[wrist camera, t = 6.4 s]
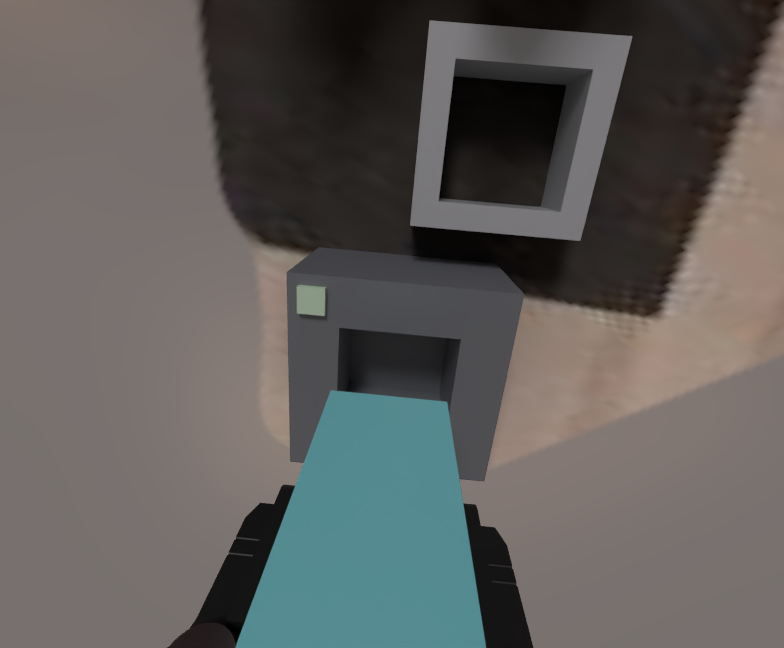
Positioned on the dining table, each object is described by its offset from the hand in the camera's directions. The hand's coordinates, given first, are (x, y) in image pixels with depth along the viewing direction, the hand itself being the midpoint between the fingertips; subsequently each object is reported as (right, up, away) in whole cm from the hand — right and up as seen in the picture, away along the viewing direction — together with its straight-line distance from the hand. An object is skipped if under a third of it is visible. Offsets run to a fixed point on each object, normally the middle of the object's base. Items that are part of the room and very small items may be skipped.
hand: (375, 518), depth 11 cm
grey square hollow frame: (+6, +15, +9) cm, 18 cm away
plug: (0, +1, +3) cm, 3 cm away
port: (+1, +5, +13) cm, 14 cm away
